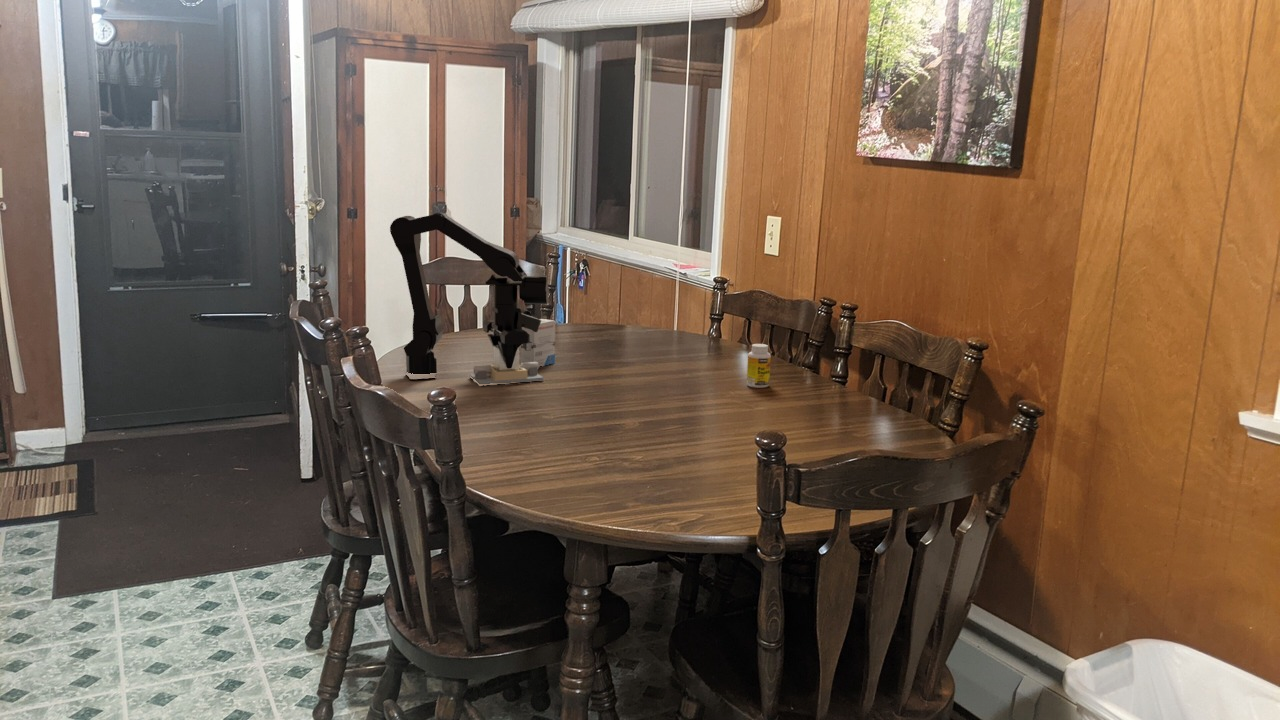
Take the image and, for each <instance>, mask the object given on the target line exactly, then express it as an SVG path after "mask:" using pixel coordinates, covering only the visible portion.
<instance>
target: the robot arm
mask: <svg viewBox="0 0 1280 720" xmlns="http://www.w3.org/2000/svg"><path fill="white" fill-rule="evenodd" d="M431 231H439V232H440V233H442V234H443V235H445V236H446V237H448V238H449V239H451V240H452V241H454V242H455V243H457V244H459V245H461V246H462V247H464V248H465V249H467V250H468V251H470V252H472V253H473V254H475V255H476V256H478V258H480V259H481V260H482V261H483V262H484V264H485V265H486V266H487V267H489V269H491V271H493V272H494V273H493V274H491V276H490V277H489V278H488V279H487V280H486V281H485V285H487V286H488V285H490V286H491V285H492V286H493V305H491V311H492V312H493V319H486V320H485V321H484V322H483V325H482V326H483V327H482V328H483V332H485V334H486V333H489V334H487V337H488V338H489V341H490V343H491V346H492V347H493V346H495V345H498V344H499V346H500V349H501V352H502V355H503V358H504V361H505V364H506V367H507V368H512V365H513V362H514V358H515V355H516V352H517V349H518V348H520V347H521V345H522V344H524V343H530V335H529V334H528V333H527V332H526V331H524V330H523V329H522V327H524V328H527V329H530V330H533V331H534V332H537V331H538V329H539V326H540V323H541V320H539V319H540V318H537V317H535V316H532V312H531V311H529V310H527V309H523V310H522V308H521V307H518V306H519V302H518V301H519V300H518V296H519V299H520V300H521V301H523V303H524V304H529V305H532V304H533V305H549V299H550V298H549V297H550V288H549V282H548V276H547V275H541V276H540V275H539V276H533V275H532V276H531V275H530V276H529V275H528V274H527V273H526V272H525V270H524V269H523V268H522V266H521V265H520V259H519V256H518V255H517V253H515V252H514V251H512V250H510V249H508V248H505V247H503V246H500V245H498V244H494V243H491V242H490V241H487V240H486V239H484V238H483V237H481V236H479V235H478V234H477V233H475V232H473V231H472V230H470V229H468V228H467V227H465V226H464V225H462V224H461V223H459V222H458V221H456V220H455V219H453V218H451V217H450V216H449V215H448V214H447V213H445V212H441V211H439V212H436V213H433V214H430V215H426V216H421V217H417V218H415V217H414V216H411V215H404V216H400V217H396V218H395V219H394V220H393V221H392V222H391V224H390V227H389V232H390V235H391V237H392V240H393V242H394V245H395V247H396V248H397V251H398V252H399V254H400V255H401V257H402V262H403V268H404V273H405V278H406V282H407V287H408V292H409V297H410V301H411V307H412V309H413V310H412V311H413V318H412V339H411V340H410V341H409V342H408V343H407V344H406V345H405V346H404V347H403V351H404V354H405V357H406V358H405V359H406V360H405V361H406V362H405V363H406V373H407V372H408V373H411V374H412V373H413V374H430V373H438V371H437V369H438V368H437V358H436V357H435V352H434V351H433V350H434V349H435V346H436V345H437V344H439V342H440V341H441V340H442V338H443V332H444V331H445V327H444V326H443V324H442V315H441V314H438V315H436V314H435V312H434V311H433V309H432V306H431V300H430V296H429V291H428V287H427V282H426V277H425V272H424V268H423V262H422V256H421V245H422V244H421V242H422V234H424V233H428V232H431ZM518 286H519V287H518ZM518 288H519V289H518ZM518 293H519V294H518Z"/></svg>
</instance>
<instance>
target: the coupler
mask: <svg viewBox="0 0 1280 720" xmlns="http://www.w3.org/2000/svg"><path fill="white" fill-rule="evenodd" d="M492 348H493V350H492V351H493V365H494V370H496V371H497V372H501V371H514V370H519V365H520V347H518V349H517V352H516V355H515V358H514V362H513V365H512V368H507V367H506V364H505V361H504V358H503V355H502V352H501V349H500V346H499V344H498V345H495V346H493V345H492Z"/></svg>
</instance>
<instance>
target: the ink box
mask: <svg viewBox="0 0 1280 720" xmlns="http://www.w3.org/2000/svg"><path fill="white" fill-rule="evenodd" d="M538 319H539V320H541V323H540V326H539V329H538V331H537V332H534V331H533V330H530V329H527V328H524V327H522V329H523V330H524V331H526V332H527V333H528V334H529V335H530V343H524V344H522V345H521V346H520V364H521V363H526V362H538V365H539V366H542V367H545V366H544V365H547V366H549V364H551V365H554V364H553V363H556V361H555V360H556V323H557V322H556V320H552V319H545V318H538Z"/></svg>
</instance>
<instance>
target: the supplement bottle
mask: <svg viewBox="0 0 1280 720" xmlns="http://www.w3.org/2000/svg"><path fill="white" fill-rule="evenodd" d="M771 358H772V357H771V353H770V352H769V345H768V344H765V343H754V344H751V351H750V352H748V354H747V367H746V368H747V369H746V385H747V386H748V387H750V388H754V389H755V388H756V389H759V388H760V389H764V388H767V387H769V385H770V376H771V375H770V374H771V360H772V359H771Z"/></svg>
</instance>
